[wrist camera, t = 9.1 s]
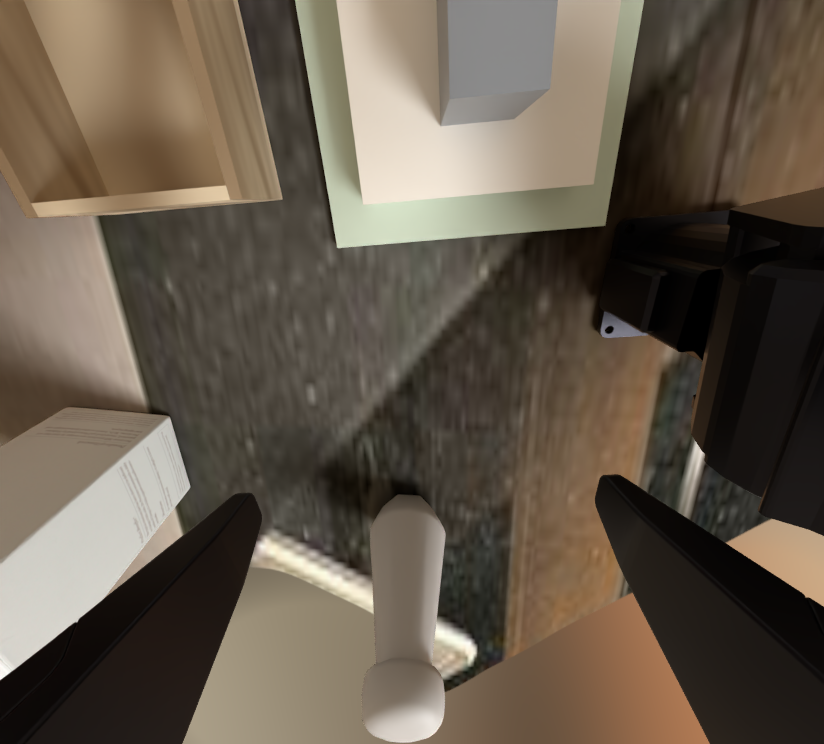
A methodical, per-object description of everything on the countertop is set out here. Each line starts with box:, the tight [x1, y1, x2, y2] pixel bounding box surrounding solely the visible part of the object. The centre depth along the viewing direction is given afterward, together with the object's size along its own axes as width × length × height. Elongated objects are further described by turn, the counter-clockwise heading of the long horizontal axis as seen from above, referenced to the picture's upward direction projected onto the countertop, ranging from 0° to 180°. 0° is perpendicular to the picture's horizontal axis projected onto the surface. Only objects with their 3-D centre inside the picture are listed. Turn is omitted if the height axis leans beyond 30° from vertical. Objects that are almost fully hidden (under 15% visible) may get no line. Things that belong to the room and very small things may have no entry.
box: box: [0, 0, 283, 218], centre depth 13 cm, size 9×9×4 cm
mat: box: [295, 0, 644, 248], centre depth 14 cm, size 14×14×1 cm
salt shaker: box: [362, 494, 446, 743], centre depth 22 cm, size 6×6×13 cm
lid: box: [336, 0, 621, 205], centre depth 11 cm, size 10×10×6 cm
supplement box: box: [0, 407, 190, 680], centre depth 19 cm, size 7×7×13 cm
